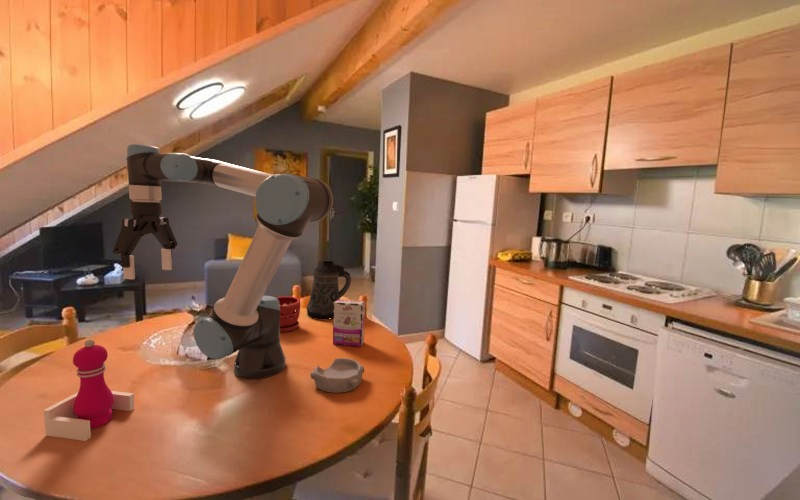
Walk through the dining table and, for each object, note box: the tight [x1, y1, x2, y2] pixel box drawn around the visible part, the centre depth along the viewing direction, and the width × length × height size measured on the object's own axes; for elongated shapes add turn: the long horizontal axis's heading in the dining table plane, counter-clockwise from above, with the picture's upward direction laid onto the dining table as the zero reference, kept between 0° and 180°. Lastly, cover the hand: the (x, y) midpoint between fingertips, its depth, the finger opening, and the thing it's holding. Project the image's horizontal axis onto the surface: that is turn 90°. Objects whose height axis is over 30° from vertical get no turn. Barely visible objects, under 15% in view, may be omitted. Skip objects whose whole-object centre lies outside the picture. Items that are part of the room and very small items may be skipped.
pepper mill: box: [72, 339, 114, 430], centre depth 82 cm, size 7×7×20 cm
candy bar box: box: [332, 299, 366, 348], centre depth 135 cm, size 11×5×16 cm, turn 83°
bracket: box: [43, 390, 135, 442], centre depth 83 cm, size 10×12×6 cm
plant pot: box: [276, 296, 301, 333], centre depth 147 cm, size 13×13×12 cm
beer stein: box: [305, 260, 352, 320], centre depth 168 cm, size 16×19×25 cm
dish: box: [309, 357, 365, 394], centre depth 106 cm, size 14×14×5 cm
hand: (149, 274), depth 105 cm, fingers open, 13 cm apart
